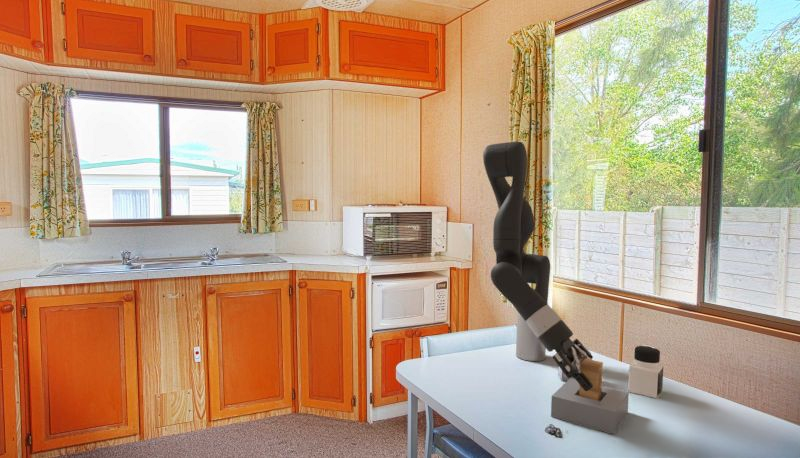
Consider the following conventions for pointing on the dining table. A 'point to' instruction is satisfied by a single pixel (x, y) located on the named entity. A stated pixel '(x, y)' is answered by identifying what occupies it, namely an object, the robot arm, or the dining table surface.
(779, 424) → the dining table surface
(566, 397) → the socket block
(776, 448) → the dining table surface
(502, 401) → the dining table surface
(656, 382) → the medicine bottle
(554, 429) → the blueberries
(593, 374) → the wooden peg
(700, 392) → the dining table surface
